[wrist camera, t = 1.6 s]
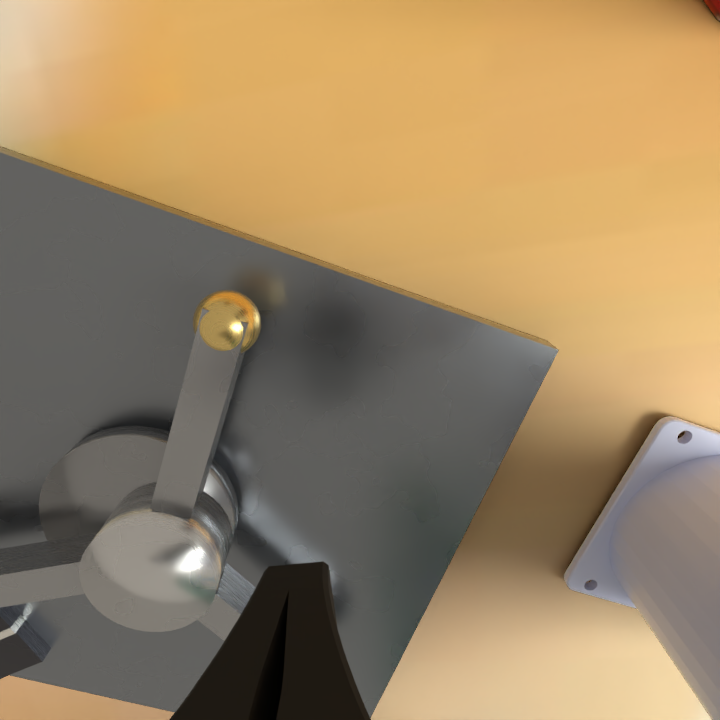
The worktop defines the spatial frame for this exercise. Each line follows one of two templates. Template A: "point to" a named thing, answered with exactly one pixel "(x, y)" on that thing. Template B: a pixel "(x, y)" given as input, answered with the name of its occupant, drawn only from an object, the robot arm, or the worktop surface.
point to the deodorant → (714, 7)
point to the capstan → (149, 503)
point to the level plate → (242, 419)
